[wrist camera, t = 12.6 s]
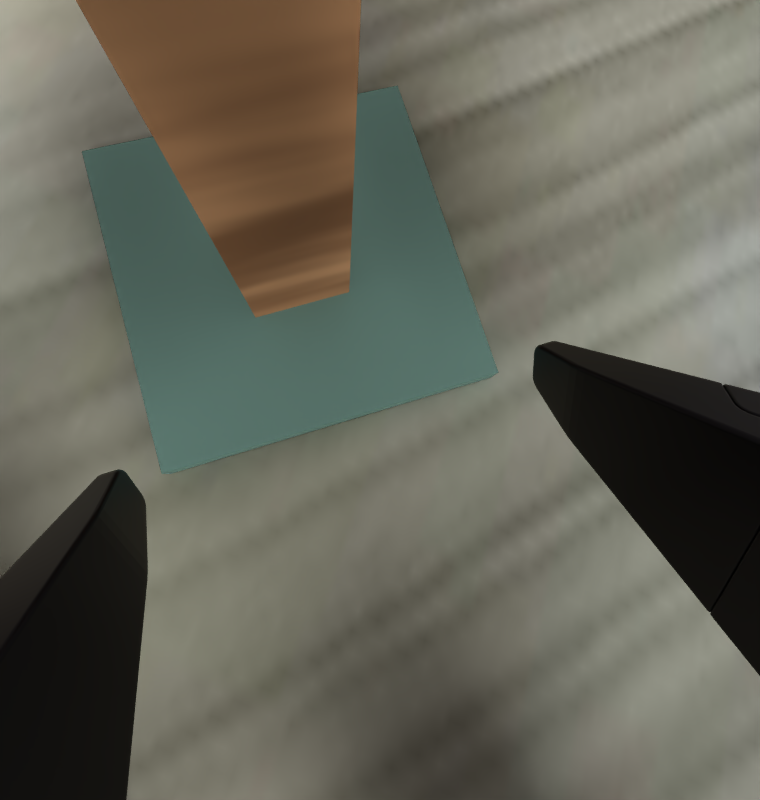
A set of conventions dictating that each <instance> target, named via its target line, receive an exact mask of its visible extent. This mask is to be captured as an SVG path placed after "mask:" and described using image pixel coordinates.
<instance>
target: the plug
mask: <svg viewBox="0 0 760 800" xmlns="http://www.w3.org/2000/svg"><path fill="white" fill-rule="evenodd" d="M76 1H77V3H78V5H79V7H80V8H81V10H82V12H83V14H84V16H85V17H86V19H87V21H88V23H89V24H90V26H91V28H92V30H93V31H94V33H95V35H96V37H97V38H98V40H99V42H100V44H101V46H102V47H103V49H104V51H105V53H106V54H107V56H108V58H109V60H110V61H111V63H112V65H113V67H114V68H115V70H116V72H117V74H118V76H119V77H120V79H121V81H122V83H123V84H124V86H125V88H126V90H127V91H128V93H129V95H130V97H131V98H132V100H133V102H134V104H135V106H136V107H137V109H138V111H139V113H140V114H141V116H142V118H143V120H144V121H145V123H146V125H147V127H148V128H149V130H150V132H151V134H152V136H153V137H154V139H155V141H156V143H157V144H158V146H159V148H160V150H161V151H162V153H163V155H164V157H165V158H166V160H167V162H168V164H169V166H170V167H171V169H172V171H173V173H174V174H175V176H176V178H177V180H178V181H179V183H180V185H181V187H182V188H183V190H184V192H185V194H186V196H187V197H188V199H189V201H190V203H191V204H192V206H193V208H194V210H195V211H196V213H197V215H198V217H199V218H200V220H201V222H202V224H203V226H204V227H205V229H206V231H207V233H208V234H209V236H210V238H211V240H212V241H213V243H214V245H215V247H216V248H217V250H218V252H219V254H220V256H221V257H222V259H223V261H224V263H225V264H226V266H227V268H228V270H229V271H230V273H231V275H232V277H233V278H234V280H235V282H236V284H237V286H238V287H239V289H240V291H241V293H242V294H243V296H244V298H245V300H246V301H247V303H248V305H249V307H250V308H251V310H252V312H253V314H254V316H255V317H260V316H263V315H267V314H271V313H274V312H278V311H282V310H285V309H289V308H293V307H296V306H300V305H304V304H307V303H311V302H315V301H318V300H322V299H326V298H329V297H333V296H336V295H340V294H344V293H347V292H349V285H350V260H351V236H352V211H353V186H354V162H355V137H356V113H357V88H358V63H359V39H360V14H361V0H76Z"/></svg>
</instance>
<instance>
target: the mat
mask: <svg viewBox="0 0 760 800" xmlns="http://www.w3.org/2000/svg"><path fill="white" fill-rule="evenodd" d="M82 154H83V158H84V162H85V166H86V170H87V174H88V178H89V182H90V186H91V190H92V194H93V198H94V202H95V206H96V210H97V215H98V219H99V223H100V227H101V231H102V235H103V239H104V243H105V247H106V251H107V255H108V259H109V263H110V267H111V271H112V275H113V279H114V283H115V287H116V291H117V295H118V299H119V303H120V307H121V311H122V316H123V320H124V324H125V328H126V332H127V336H128V340H129V344H130V348H131V352H132V356H133V360H134V364H135V368H136V372H137V376H138V380H139V384H140V388H141V392H142V396H143V400H144V404H145V408H146V413H147V417H148V421H149V425H150V429H151V433H152V437H153V441H154V445H155V449H156V453H157V457H158V461H159V465H160V469H161V473H162V474H172V473H175V472H178V471H182V470H185V469H188V468H192V467H195V466H198V465H202V464H205V463H208V462H212V461H215V460H218V459H221V458H225V457H228V456H231V455H235V454H238V453H241V452H245V451H248V450H251V449H255V448H258V447H261V446H265V445H268V444H271V443H275V442H278V441H281V440H285V439H288V438H291V437H294V436H298V435H301V434H304V433H308V432H311V431H314V430H318V429H321V428H324V427H328V426H331V425H334V424H338V423H341V422H344V421H348V420H351V419H354V418H358V417H361V416H364V415H367V414H371V413H374V412H377V411H381V410H384V409H387V408H391V407H394V406H397V405H401V404H404V403H407V402H411V401H414V400H417V399H421V398H424V397H427V396H431V395H434V394H437V393H440V392H444V391H447V390H450V389H454V388H457V387H460V386H464V385H467V384H470V383H474V382H477V381H480V380H484V379H487V378H490V377H492V376H494V375H495V374H497V373H498V370H497V367H496V364H495V362H494V359H493V356H492V353H491V350H490V347H489V344H488V342H487V339H486V336H485V333H484V330H483V327H482V325H481V322H480V319H479V316H478V313H477V310H476V308H475V305H474V302H473V299H472V296H471V293H470V290H469V288H468V285H467V282H466V279H465V276H464V273H463V271H462V268H461V265H460V262H459V259H458V256H457V253H456V251H455V248H454V245H453V242H452V239H451V236H450V234H449V231H448V228H447V225H446V222H445V219H444V217H443V214H442V211H441V208H440V205H439V202H438V199H437V197H436V194H435V191H434V188H433V185H432V182H431V180H430V177H429V174H428V171H427V168H426V165H425V162H424V160H423V157H422V154H421V151H420V148H419V145H418V143H417V140H416V137H415V134H414V131H413V128H412V125H411V123H410V120H409V117H408V114H407V111H406V108H405V106H404V103H403V100H402V97H401V94H400V91H399V89H398V86H393V87H388V88H384V89H379V90H374V91H369V92H364V93H360V94H357V113H356V137H355V162H354V186H353V211H352V236H351V260H350V285H349V292H347V293H344V294H340V295H336V296H333V297H329V298H326V299H322V300H318V301H315V302H311V303H307V304H304V305H300V306H296V307H293V308H289V309H285V310H282V311H278V312H274V313H271V314H267V315H263V316H260V317H255V316H254V314H253V312H252V310H251V308H250V307H249V305H248V303H247V301H246V300H245V298H244V296H243V294H242V293H241V291H240V289H239V287H238V286H237V284H236V282H235V280H234V278H233V277H232V275H231V273H230V271H229V270H228V268H227V266H226V264H225V263H224V261H223V259H222V257H221V256H220V254H219V252H218V250H217V248H216V247H215V245H214V243H213V241H212V240H211V238H210V236H209V234H208V233H207V231H206V229H205V227H204V226H203V224H202V222H201V220H200V218H199V217H198V215H197V213H196V211H195V210H194V208H193V206H192V204H191V203H190V201H189V199H188V197H187V196H186V194H185V192H184V190H183V188H182V187H181V185H180V183H179V181H178V180H177V178H176V176H175V174H174V173H173V171H172V169H171V167H170V166H169V164H168V162H167V160H166V158H165V157H164V155H163V153H162V151H161V150H160V148H159V146H158V144H157V143H156V141H155V139H154V137H148V138H143V139H138V140H134V141H129V142H124V143H119V144H114V145H110V146H105V147H100V148H95V149H90V150H86V151H82Z"/></svg>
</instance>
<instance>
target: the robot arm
mask: <svg viewBox="0 0 760 800" xmlns="http://www.w3.org/2000/svg"><path fill="white" fill-rule="evenodd" d="M533 381H534V384H535V386H536V388H537V389H538V391H539V393H540V394H541V396H542V397H543V399H544V400H545V402H546V404H547V405H548V407H549V408H550V410H551V412H552V413H553V415H554V416H555V418H556V419H557V421H558V423H559V424H560V426H561V427H562V429H563V430H564V432H565V433H566V435H567V436H568V438H569V439H570V440H571V442H572V443H573V444H574V445H575V447H576V448H577V449H578V450H579V452H580V453H581V454H582V455H583V457H584V458H585V459H586V460H587V462H588V463H589V464H590V465H591V467H592V468H593V469H594V470H595V471H596V473H597V474H598V475H599V476H600V478H601V479H602V480H603V481H604V483H605V484H606V485H607V486H608V488H609V489H610V490H611V491H612V493H613V494H614V495H615V496H616V498H617V499H618V500H619V501H620V503H621V504H622V505H623V506H624V507H625V509H626V510H627V511H628V512H629V514H630V515H631V516H632V517H633V519H634V520H635V521H636V522H637V524H638V525H639V526H640V527H641V529H642V530H643V531H644V532H645V534H646V535H647V536H648V537H649V539H650V540H651V541H652V542H653V543H654V545H655V546H656V547H657V548H658V550H659V551H660V552H661V553H662V555H663V556H664V557H665V558H666V560H667V561H668V562H669V563H670V565H671V566H672V567H673V568H674V570H675V571H676V572H677V573H678V575H679V576H680V577H681V578H682V579H683V581H684V582H685V583H686V584H687V586H688V587H689V588H690V589H691V591H692V592H693V593H694V594H695V596H696V597H697V598H698V599H699V601H700V602H701V603H702V604H703V606H704V607H705V608H706V609H707V611H709V612H711V613H710V614H711V616H712V617H713V618H714V620H715V621H716V622H717V623H718V625H719V626H720V627H721V628H722V630H723V631H724V632H725V633H726V635H727V636H728V637H729V638H730V640H731V641H732V642H733V643H734V644H735V646H736V647H737V648H738V649H739V651H740V652H741V653H742V654H743V656H744V657H745V658H746V659H747V661H748V662H749V663H750V664H751V666H752V667H753V668H754V669H755V671H756V672H757V673H758V674H759V675H760V393H759V392H755V391H751V390H747V389H743V388H739V387H735V386H731V385H727V384H725V385H722V384H721V383H719V382H715V381H711V380H707V379H703V378H699V377H695V376H691V375H687V374H683V373H679V372H675V371H671V370H667V369H663V368H659V367H655V366H652V365H648V364H644V363H640V362H636V361H632V360H628V359H624V358H620V357H616V356H612V355H608V354H604V353H600V352H596V351H592V350H588V349H584V348H580V347H576V346H572V345H568V344H565V343H561V342H557V341H551V342H548V343H545V344H541V345H538V346H537V347H536V349H535V352H534V366H533ZM147 575H148V558H147V526H146V504H145V500H144V498H143V496H142V494H141V493H140V491H139V490H138V488H137V487H136V486H135V484H134V483H133V481H132V480H131V479H130V477H129V476H128V475H127V473H126V472H125V471H123V470H119V469H118V470H114V471H111V472H108V473H104V474H101V475H99V476H98V477H97V478H96V479H95V480H94V481H93V482H92V483H91V484H90V485H89V486H88V487H87V488H86V489H85V490H84V491H83V492H82V493H81V494H80V496H79V497H78V498H77V499H76V500H75V501H74V502H73V503H72V504H71V505H70V506H69V507H68V508H67V509H66V510H65V511H64V512H63V513H62V514H61V515H60V516H59V517H58V519H57V520H56V521H55V522H54V523H53V524H52V525H51V526H50V527H49V528H48V529H47V530H46V531H45V532H44V533H43V534H42V535H41V536H40V537H39V538H38V539H37V540H36V542H35V543H34V544H33V545H32V546H31V547H30V548H29V549H28V550H27V551H26V552H25V553H24V554H23V555H22V556H21V557H20V558H19V559H18V560H17V561H16V562H15V563H14V564H13V566H12V567H11V568H10V569H9V570H8V571H7V572H6V573H5V574H4V575H3V576H2V577H1V578H0V800H126V797H127V787H128V776H129V766H130V755H131V745H132V735H133V724H134V714H135V703H136V693H137V682H138V672H139V662H140V651H141V641H142V630H143V620H144V609H145V599H146V589H147Z"/></svg>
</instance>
